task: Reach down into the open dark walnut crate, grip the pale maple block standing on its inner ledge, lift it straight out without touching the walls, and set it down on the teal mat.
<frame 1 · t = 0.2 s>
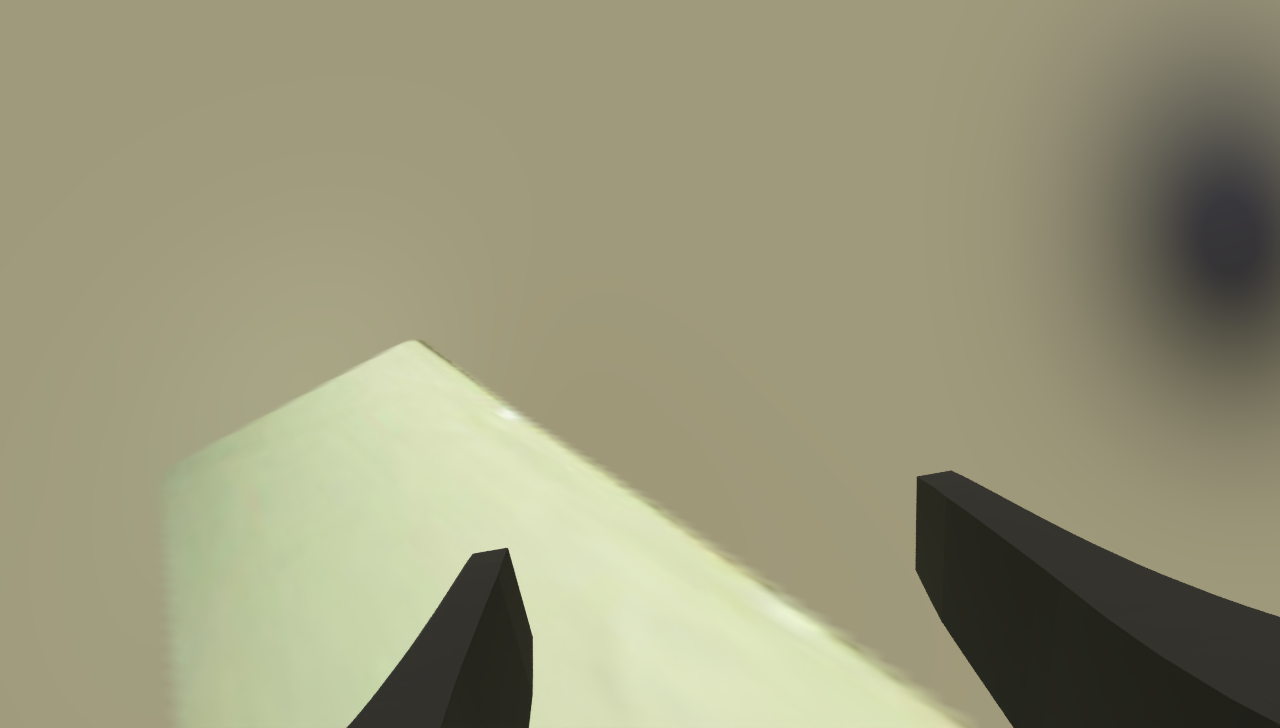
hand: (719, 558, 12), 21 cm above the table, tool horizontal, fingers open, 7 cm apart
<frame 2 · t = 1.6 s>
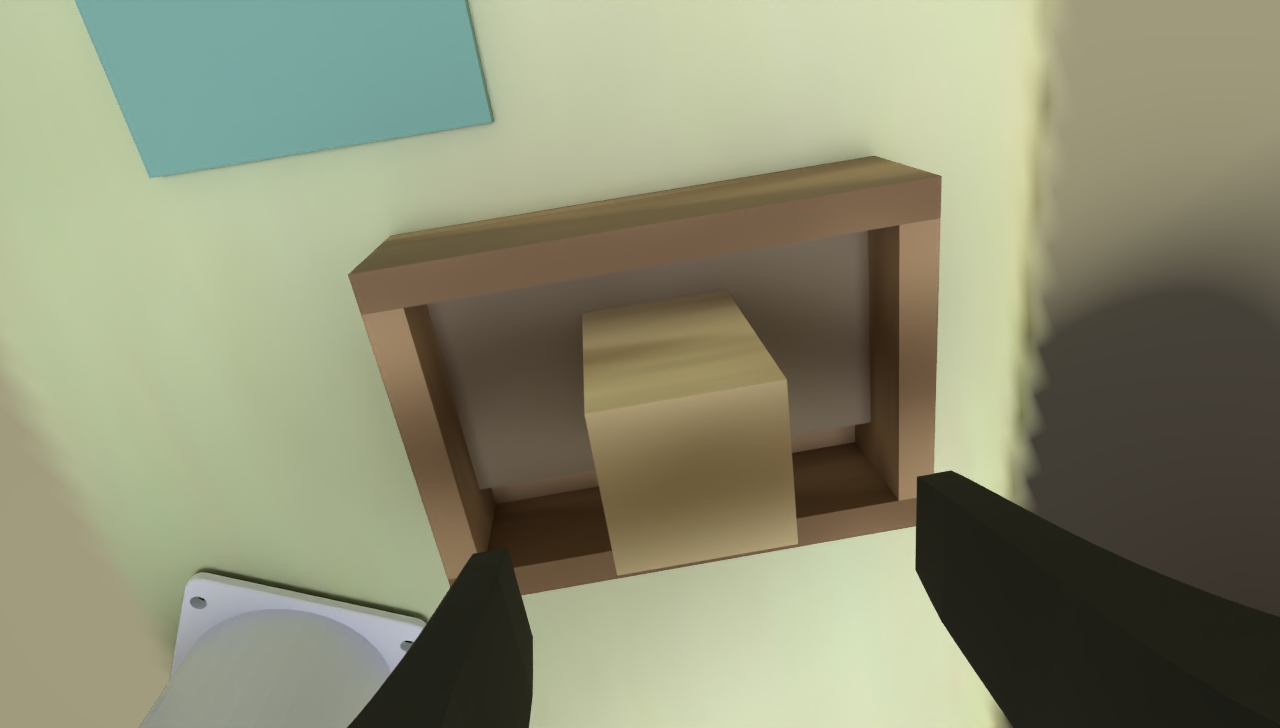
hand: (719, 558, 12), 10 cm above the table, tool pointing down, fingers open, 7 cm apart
maple block: (663, 367, 20), point 2 cm above the table, touching walnut crate
walnut crate: (657, 355, 22), on the table
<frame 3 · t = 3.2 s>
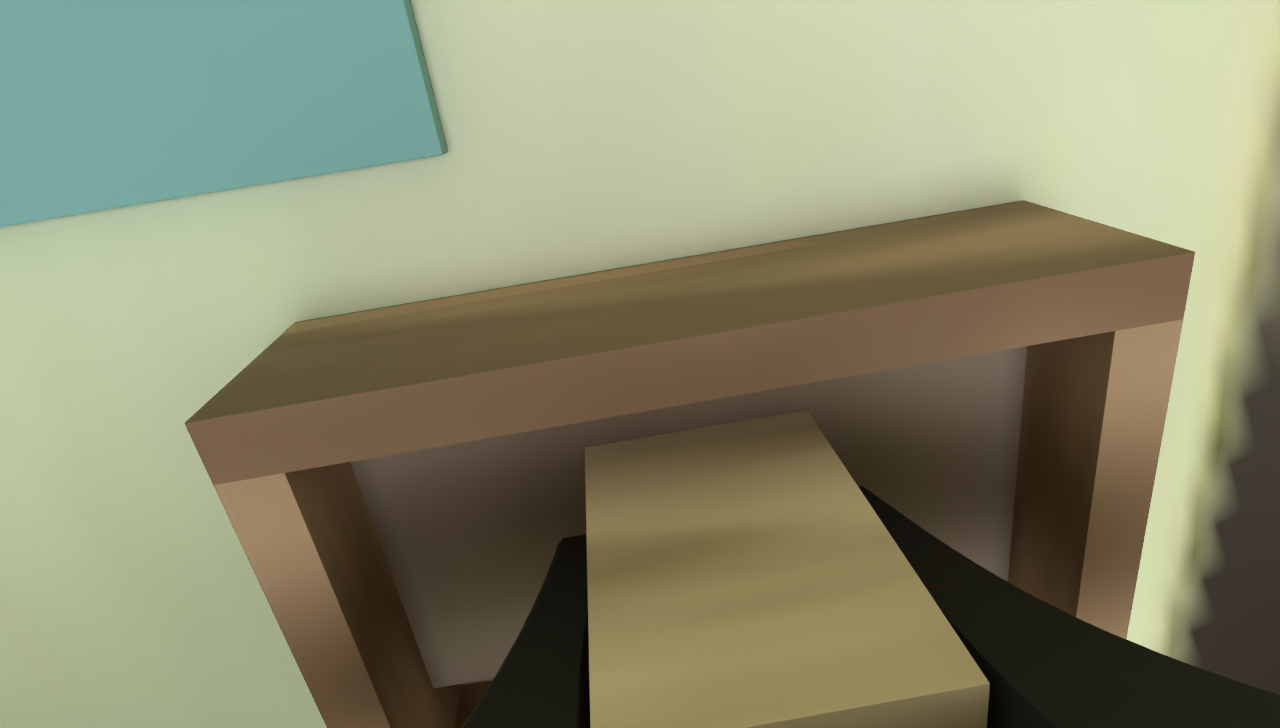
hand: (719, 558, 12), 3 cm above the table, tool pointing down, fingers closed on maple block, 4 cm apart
maple block: (708, 520, 13), point 2 cm above the table, touching gripper, walnut crate
walnut crate: (693, 482, 15), on the table
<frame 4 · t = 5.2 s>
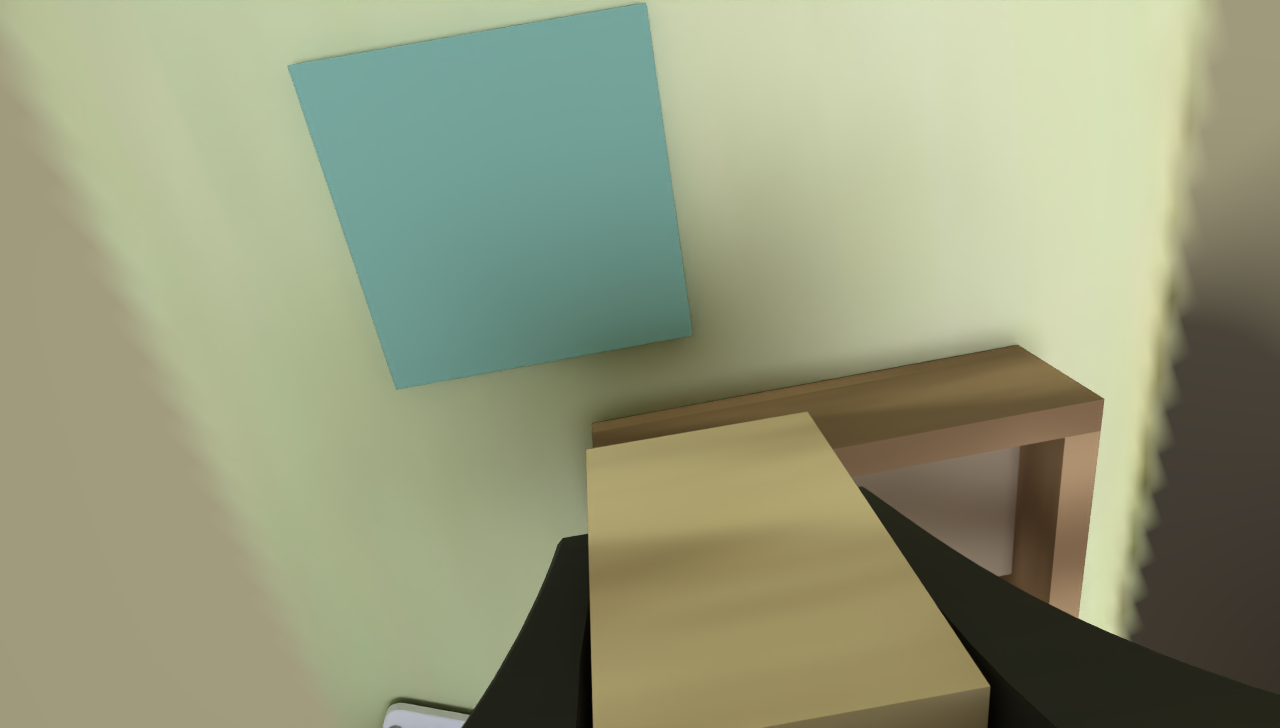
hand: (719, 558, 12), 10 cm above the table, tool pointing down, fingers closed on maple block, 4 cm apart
maple block: (709, 521, 13), point 9 cm above the table, touching gripper
walnut crate: (815, 511, 24), on the table
teal mat: (511, 210, 20), on the table
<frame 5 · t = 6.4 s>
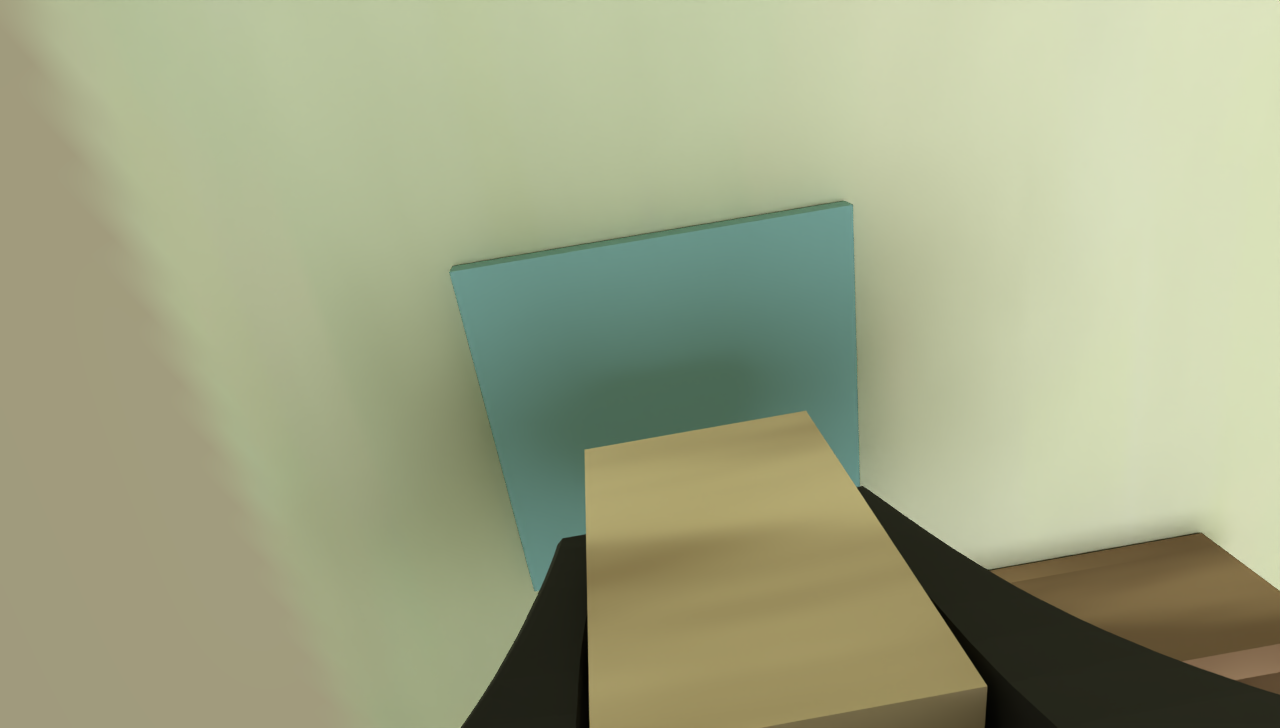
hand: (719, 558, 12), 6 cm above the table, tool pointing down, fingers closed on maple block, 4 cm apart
maple block: (708, 521, 13), point 5 cm above the table, touching gripper
walnut crate: (964, 695, 23), on the table
teal mat: (675, 408, 18), on the table
when the fingers open (3 cm above the table, at t = 7.3 s): maple block drops 2 cm, resting on teal mat.
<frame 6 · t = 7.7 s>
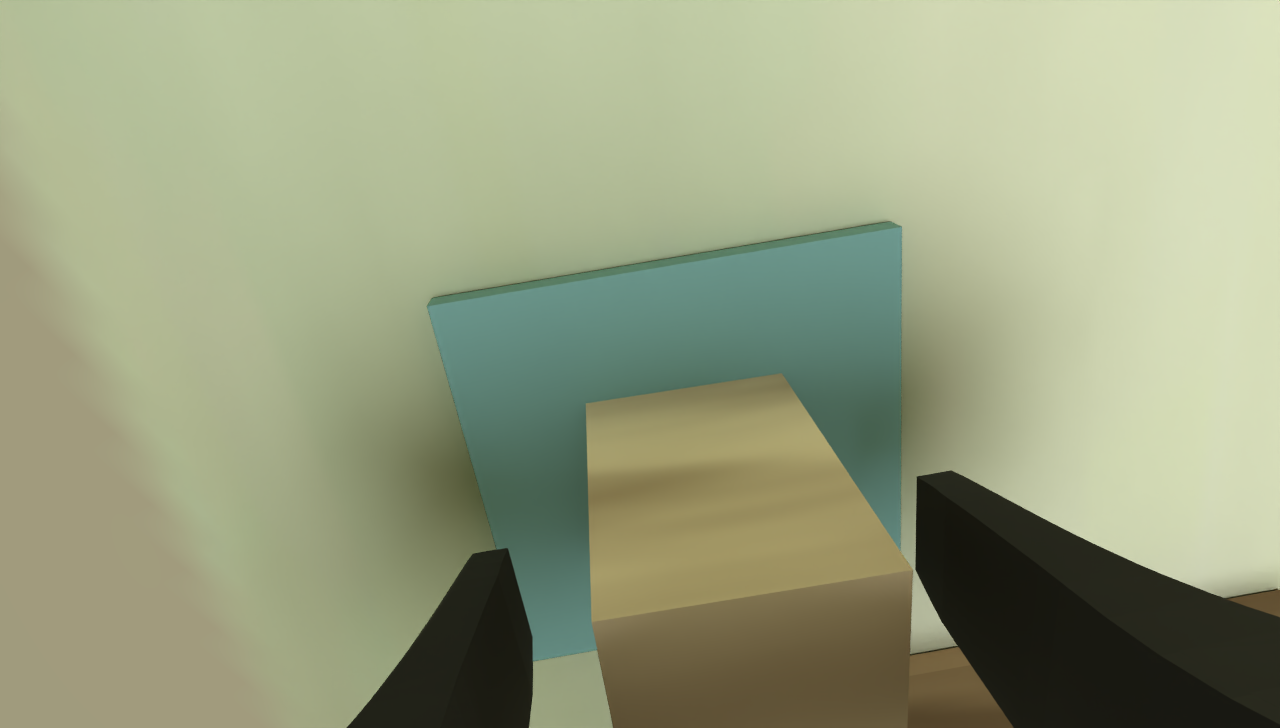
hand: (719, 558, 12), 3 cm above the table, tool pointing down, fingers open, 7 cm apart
maple block: (693, 472, 15), resting on teal mat
teal mat: (690, 457, 15), on the table
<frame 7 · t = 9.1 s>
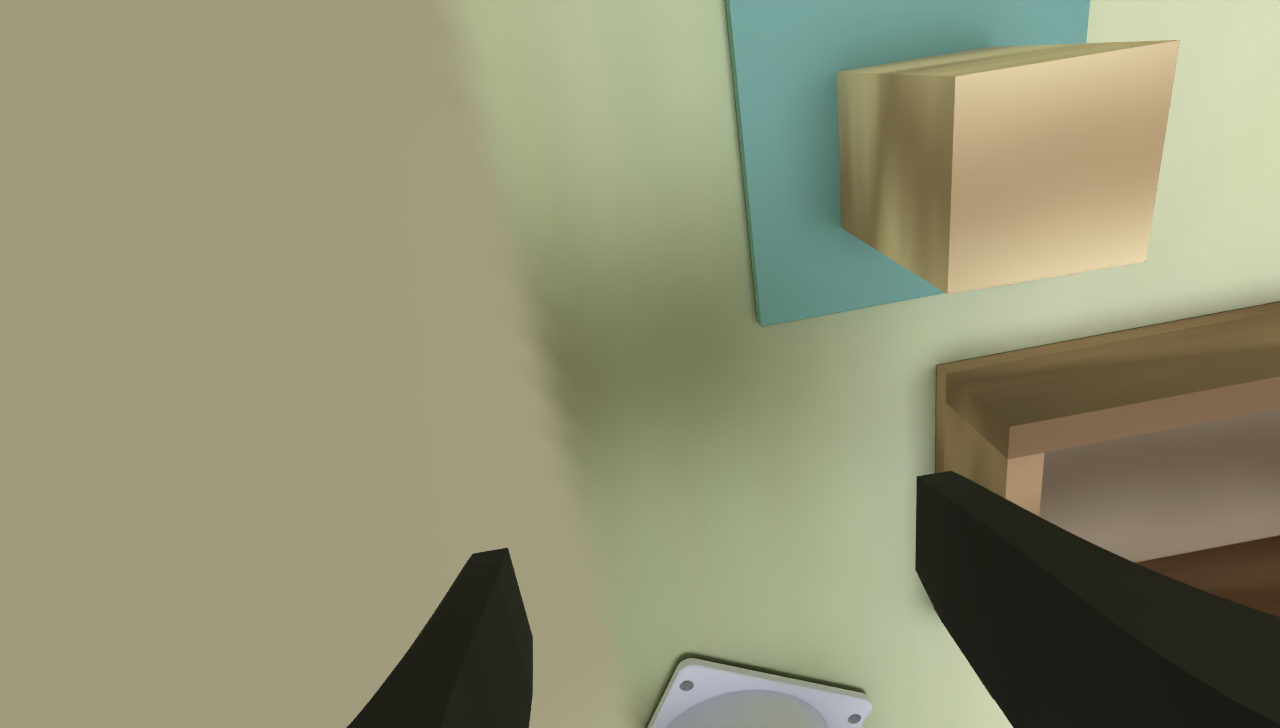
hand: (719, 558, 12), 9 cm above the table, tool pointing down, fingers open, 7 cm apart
maple block: (913, 141, 18), resting on teal mat
walnut crate: (1135, 459, 24), on the table
teal mat: (905, 136, 19), on the table
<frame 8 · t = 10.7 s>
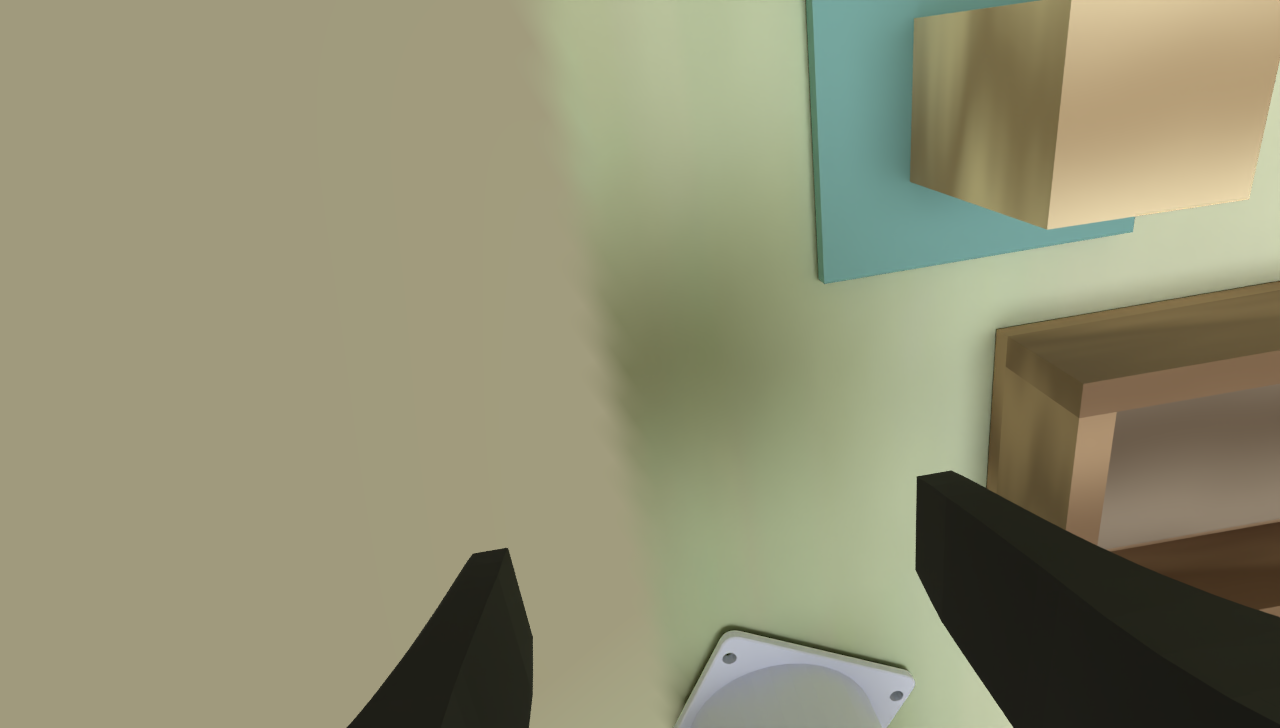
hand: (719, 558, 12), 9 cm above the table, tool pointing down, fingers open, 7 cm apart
maple block: (987, 92, 18), resting on teal mat
walnut crate: (1190, 431, 23), on the table
teal mat: (977, 89, 19), on the table
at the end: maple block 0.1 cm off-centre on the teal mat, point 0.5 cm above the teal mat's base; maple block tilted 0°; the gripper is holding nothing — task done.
